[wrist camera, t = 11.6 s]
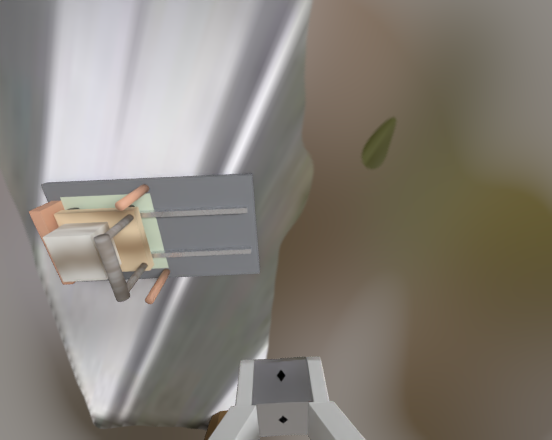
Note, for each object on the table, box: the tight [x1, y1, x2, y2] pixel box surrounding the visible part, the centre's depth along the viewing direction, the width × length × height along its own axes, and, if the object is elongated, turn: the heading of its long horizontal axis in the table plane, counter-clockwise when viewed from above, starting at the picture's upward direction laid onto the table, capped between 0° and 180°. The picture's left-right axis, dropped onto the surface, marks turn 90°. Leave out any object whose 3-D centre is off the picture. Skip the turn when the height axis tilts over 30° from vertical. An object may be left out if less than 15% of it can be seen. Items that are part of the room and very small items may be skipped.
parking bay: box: [29, 184, 170, 304], centre depth 38 cm, size 16×15×7 cm
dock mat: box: [41, 173, 260, 281], centre depth 42 cm, size 17×30×1 cm, turn 92°
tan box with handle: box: [43, 205, 154, 302], centre depth 36 cm, size 10×11×10 cm
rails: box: [139, 206, 252, 258], centre depth 41 cm, size 8×28×1 cm, turn 92°
